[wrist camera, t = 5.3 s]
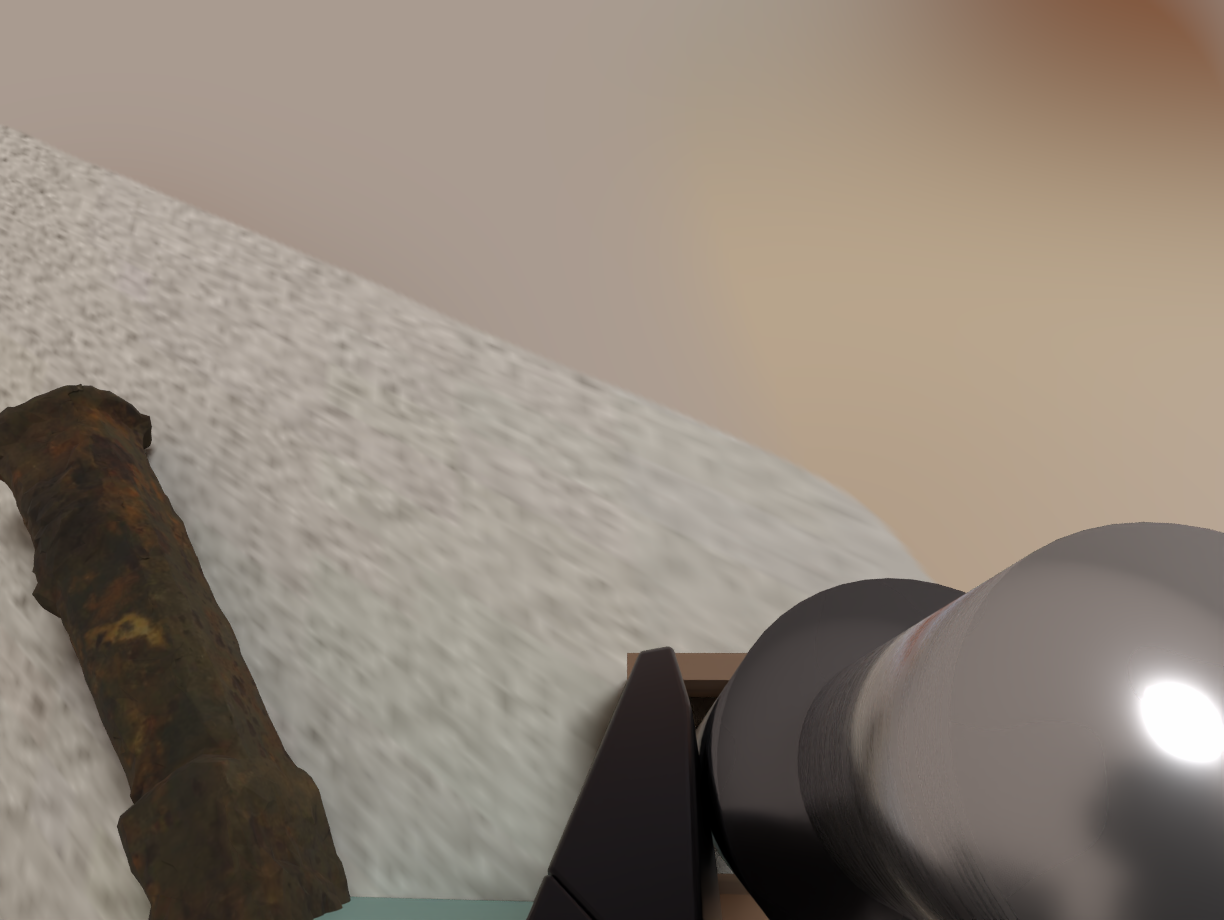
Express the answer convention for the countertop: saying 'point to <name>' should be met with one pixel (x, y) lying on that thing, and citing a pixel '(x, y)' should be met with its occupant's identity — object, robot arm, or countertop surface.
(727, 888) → the socket block
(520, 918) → the hollow teal block
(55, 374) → the countertop surface
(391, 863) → the countertop surface
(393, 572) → the countertop surface
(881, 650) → the stepped grey cylinder
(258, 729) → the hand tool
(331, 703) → the countertop surface
